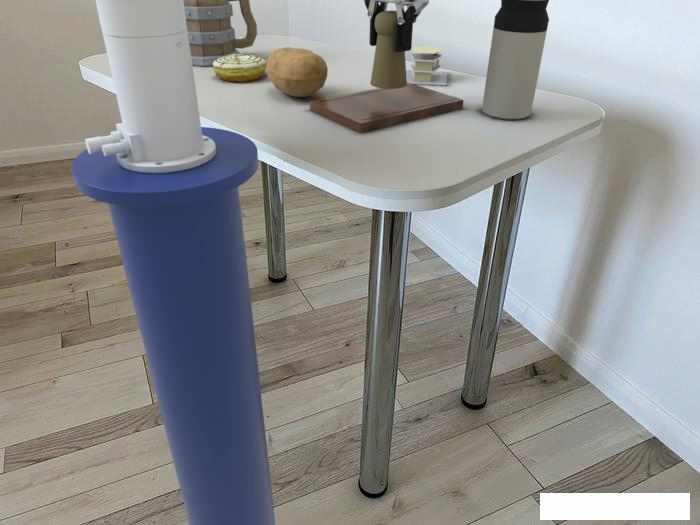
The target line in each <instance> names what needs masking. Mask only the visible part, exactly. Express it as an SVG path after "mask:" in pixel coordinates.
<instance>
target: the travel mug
mask: <svg viewBox="0 0 700 525" xmlns="http://www.w3.org/2000/svg"><path fill="white" fill-rule="evenodd" d="M500 2H501V3H500V8H498V11H497V12H496V14H495V15H494V22H493V29H492V34H491V43H490V49H489V57H488V63H487V72H486V78H485V85H484V90H483V91H484V92H483V98H482V105H481V112H483V113H484V114H486V115H487V116H488V117H492V118H496V119H499V120H513V121H514V120H522V119H525V118H527V117H529V116H531V115H532V110H533V105H534V99H535V94H536V90H537V85H538V79H539V73H540V68H541V63H542V58H543V53H544V48H545V43H546V37H547V32H548V26H549V21H550V18H549V15H548V14H549V13H548V10H547V7H548V4H549V2H550V0H500Z"/></svg>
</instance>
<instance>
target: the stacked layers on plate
mask: <svg viewBox="0 0 700 525" xmlns="http://www.w3.org/2000/svg"><path fill="white" fill-rule="evenodd" d="M411 50H412V51H413V53H412V54H411V58H412V64H411V65H410V67H411V70H412V71H408V70H406V78H407V83H408V82H409V83H412V84H415V85H428V86H447V84H448V72H444V73H443V72H437V71H438V70H440V69H441V64H440V59H441V58H442V54H440V53H439V52H440V51H442V50H443V47H440V46H414V47H411Z"/></svg>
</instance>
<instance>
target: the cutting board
mask: <svg viewBox="0 0 700 525" xmlns="http://www.w3.org/2000/svg"><path fill="white" fill-rule="evenodd" d="M464 100H465V99H463V98H459V97H457V96H453V95H449V94H446V93H443V92H440V91H437V90H433V89H430V88H428V87H424V86H421V85H419V84H412V83H409V82H408V83H407V85H406V86H405V87H403V88H397V89H383V88H377V87H376V88H373V89H366V90H362V91H357V92H352V93H347V94H341V95H337V96H331V97H326V98H321V99H315V100H310V101H309V111H310V112H313V113H315V114H317V115H319V116H322V117H324V118H326V119H328V120H330V121H333V122H335V123H338V124H340V125H342V126H344V127H347V128H348V129H351V130H353V131H354V132H358V133H360V134H362V133H367V132H371V131H375V130H379V129H383V128H387V127H391V126H397V125H400V124H404V123H408V122H412V121H416V120H420V119H421V120H422V119H424V118H429V117H433V116H436V115H441V114H445V113H450V112H454V111H457V110H463V108H464Z"/></svg>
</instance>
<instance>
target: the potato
mask: <svg viewBox="0 0 700 525" xmlns="http://www.w3.org/2000/svg"><path fill="white" fill-rule="evenodd" d="M266 66H267V67H266V74H267V78H268V80H269V81H270V82H271V83H272V85H273V86H274V88H276V89H277V90H278V91H279V92H281V93H283V94H287V95H288V96H291V97H293V98H306V97H310V96H314V95H315V94H316V93H318V91H320V90H321V89H322V88H323V87H324V86H325V83H326V82H327V79H328V72H329V70H328V69H329V68H328V64H327V62H326V61H325V59H324V58H323V57H322V56H320V55H318V54H317V53H315V52H313V51H311V50H309V49H307V48H296V47H281V48H280V47H279V48H277V49H275V50H273V51H272V52H271V53H270V54H269V56H268V57H267V60H266Z"/></svg>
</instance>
